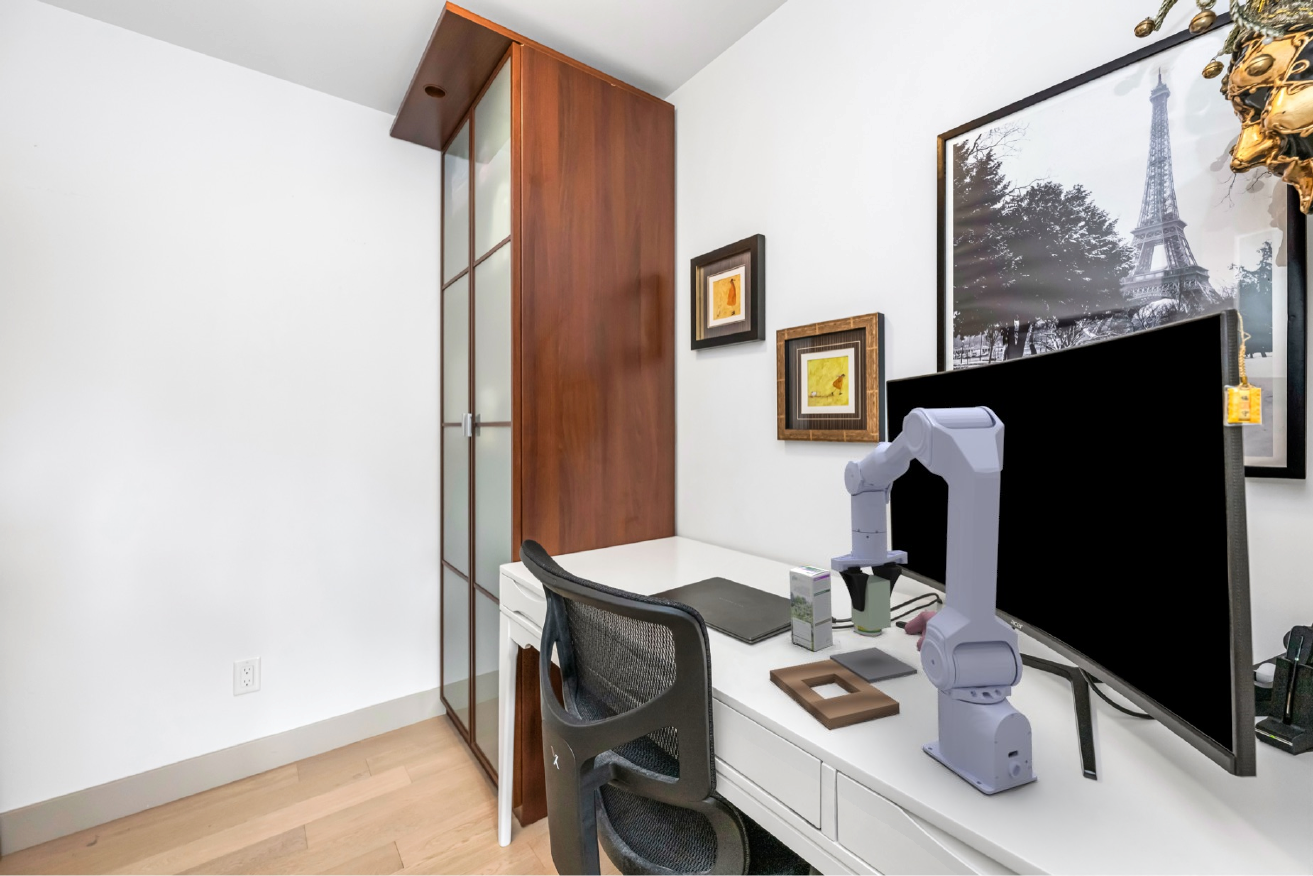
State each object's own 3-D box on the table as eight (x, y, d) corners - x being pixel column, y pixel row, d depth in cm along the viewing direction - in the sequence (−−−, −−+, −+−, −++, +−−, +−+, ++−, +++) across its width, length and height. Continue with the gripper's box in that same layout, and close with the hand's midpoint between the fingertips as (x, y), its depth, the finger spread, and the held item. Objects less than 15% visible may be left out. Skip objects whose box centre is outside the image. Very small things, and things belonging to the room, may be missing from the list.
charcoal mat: (917, 673, 90) (917, 669, 90) (868, 683, 86) (868, 679, 86) (875, 650, 99) (875, 647, 99) (829, 658, 96) (829, 655, 96)
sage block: (890, 627, 91) (889, 580, 91) (869, 630, 90) (868, 583, 90) (872, 618, 96) (871, 574, 95) (851, 622, 94) (850, 577, 94)
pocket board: (899, 713, 77) (899, 702, 77) (829, 729, 74) (829, 718, 74) (830, 667, 92) (830, 659, 92) (770, 679, 89) (769, 670, 89)
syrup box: (833, 644, 102) (832, 569, 102) (813, 652, 99) (811, 574, 99) (810, 635, 107) (808, 563, 107) (790, 643, 104) (788, 568, 103)
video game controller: (939, 661, 97) (957, 628, 97) (915, 649, 98) (933, 616, 97) (923, 640, 107) (939, 610, 106) (901, 629, 108) (917, 599, 107)
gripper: (886, 523, 99) (887, 596, 99) (819, 529, 94) (821, 606, 94) (915, 529, 92) (917, 607, 92) (845, 536, 87) (847, 619, 87)
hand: (870, 607), depth 93 cm, fingers closed on sage block, 4 cm apart
